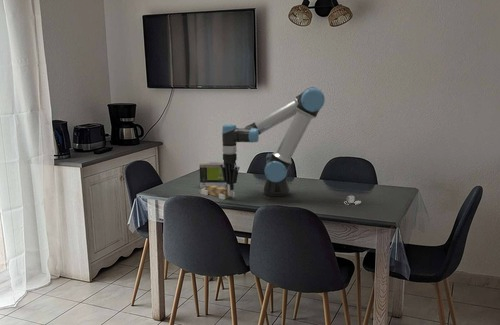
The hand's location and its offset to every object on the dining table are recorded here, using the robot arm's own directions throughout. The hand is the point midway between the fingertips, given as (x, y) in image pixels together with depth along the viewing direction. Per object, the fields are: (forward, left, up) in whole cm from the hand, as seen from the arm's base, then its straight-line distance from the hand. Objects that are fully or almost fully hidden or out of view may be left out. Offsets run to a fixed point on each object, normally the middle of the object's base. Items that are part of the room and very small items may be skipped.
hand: (230, 195), depth 271 cm
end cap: (+18, 0, -2) cm, 18 cm away
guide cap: (+3, 0, -2) cm, 3 cm away
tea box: (+28, -13, -2) cm, 31 cm away
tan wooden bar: (+10, 0, -2) cm, 10 cm away
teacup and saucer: (-56, -35, -3) cm, 66 cm away
